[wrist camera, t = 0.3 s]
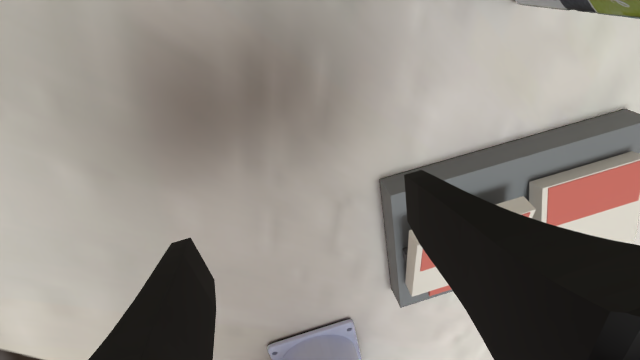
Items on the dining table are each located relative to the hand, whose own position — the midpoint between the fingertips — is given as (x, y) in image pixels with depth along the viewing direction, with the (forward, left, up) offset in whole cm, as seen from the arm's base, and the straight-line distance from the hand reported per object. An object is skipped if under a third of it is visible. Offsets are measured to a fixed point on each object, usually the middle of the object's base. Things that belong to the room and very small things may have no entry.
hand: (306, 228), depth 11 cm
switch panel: (-12, -15, -10) cm, 22 cm away
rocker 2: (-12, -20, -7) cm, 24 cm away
